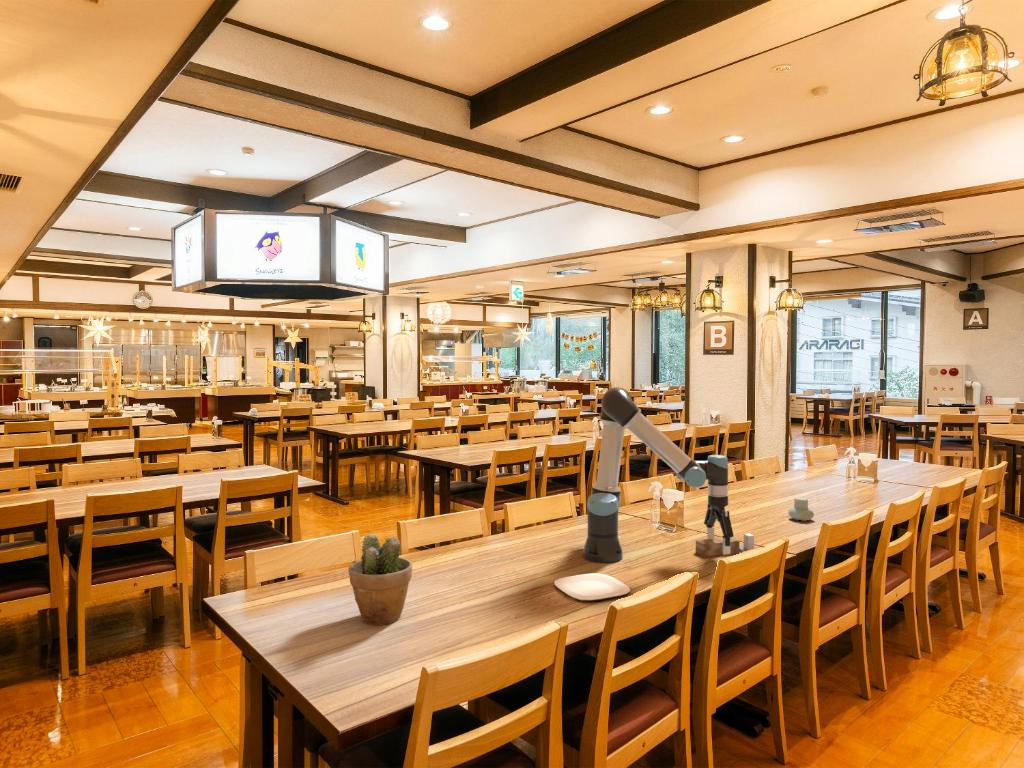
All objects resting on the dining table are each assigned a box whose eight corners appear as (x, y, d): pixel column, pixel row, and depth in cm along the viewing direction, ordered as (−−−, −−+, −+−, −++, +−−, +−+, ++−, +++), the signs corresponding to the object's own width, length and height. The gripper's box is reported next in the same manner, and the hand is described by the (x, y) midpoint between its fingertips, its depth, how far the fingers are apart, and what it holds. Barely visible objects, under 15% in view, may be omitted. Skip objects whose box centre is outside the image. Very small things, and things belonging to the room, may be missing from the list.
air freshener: (803, 516, 303) (803, 496, 302) (816, 520, 295) (817, 499, 295) (785, 518, 299) (785, 497, 299) (798, 522, 292) (798, 501, 291)
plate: (579, 607, 193) (579, 601, 193) (547, 584, 213) (547, 579, 213) (638, 596, 202) (638, 591, 202) (602, 575, 222) (602, 570, 222)
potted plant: (335, 625, 179) (334, 538, 179) (372, 602, 197) (371, 523, 196) (391, 635, 173) (390, 545, 172) (424, 610, 190) (423, 528, 189)
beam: (703, 557, 242) (703, 544, 242) (695, 552, 247) (695, 540, 247) (739, 553, 246) (739, 540, 246) (730, 549, 252) (730, 537, 251)
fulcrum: (745, 554, 244) (745, 537, 244) (735, 548, 252) (735, 532, 252) (762, 553, 245) (762, 537, 245) (751, 547, 253) (752, 531, 252)
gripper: (742, 501, 234) (743, 557, 235) (712, 488, 259) (713, 539, 259) (723, 502, 233) (724, 559, 234) (695, 489, 258) (695, 540, 258)
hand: (718, 548), depth 246 cm, fingers open, 13 cm apart
